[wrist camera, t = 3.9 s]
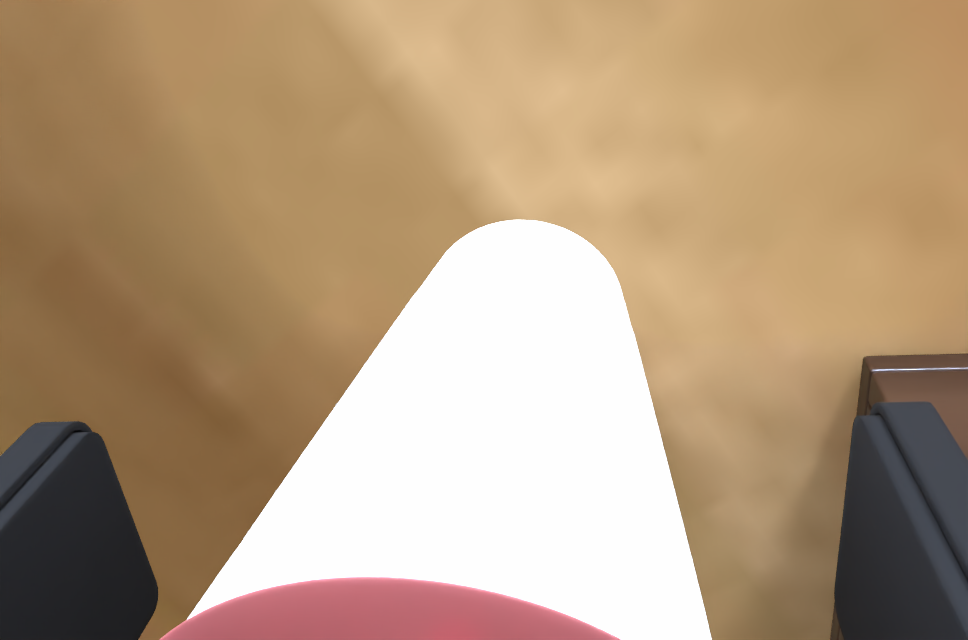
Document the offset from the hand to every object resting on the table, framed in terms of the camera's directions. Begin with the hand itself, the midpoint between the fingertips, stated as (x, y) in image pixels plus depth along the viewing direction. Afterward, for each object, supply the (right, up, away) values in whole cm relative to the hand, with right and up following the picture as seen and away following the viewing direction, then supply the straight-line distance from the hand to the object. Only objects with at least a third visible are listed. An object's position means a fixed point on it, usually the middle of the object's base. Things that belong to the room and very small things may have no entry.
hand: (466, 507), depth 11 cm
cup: (+1, +3, +4) cm, 5 cm away
